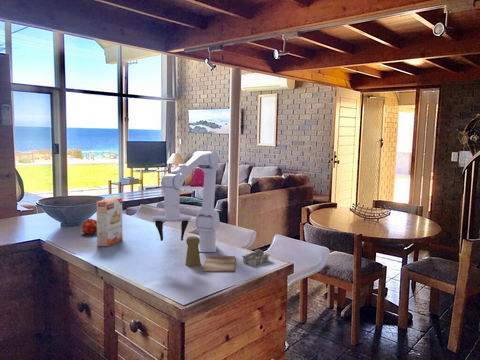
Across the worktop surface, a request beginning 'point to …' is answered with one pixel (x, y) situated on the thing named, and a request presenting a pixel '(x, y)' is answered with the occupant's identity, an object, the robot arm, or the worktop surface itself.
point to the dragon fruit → (89, 226)
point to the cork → (192, 252)
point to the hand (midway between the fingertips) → (172, 240)
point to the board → (219, 264)
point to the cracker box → (109, 221)
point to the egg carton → (255, 257)
